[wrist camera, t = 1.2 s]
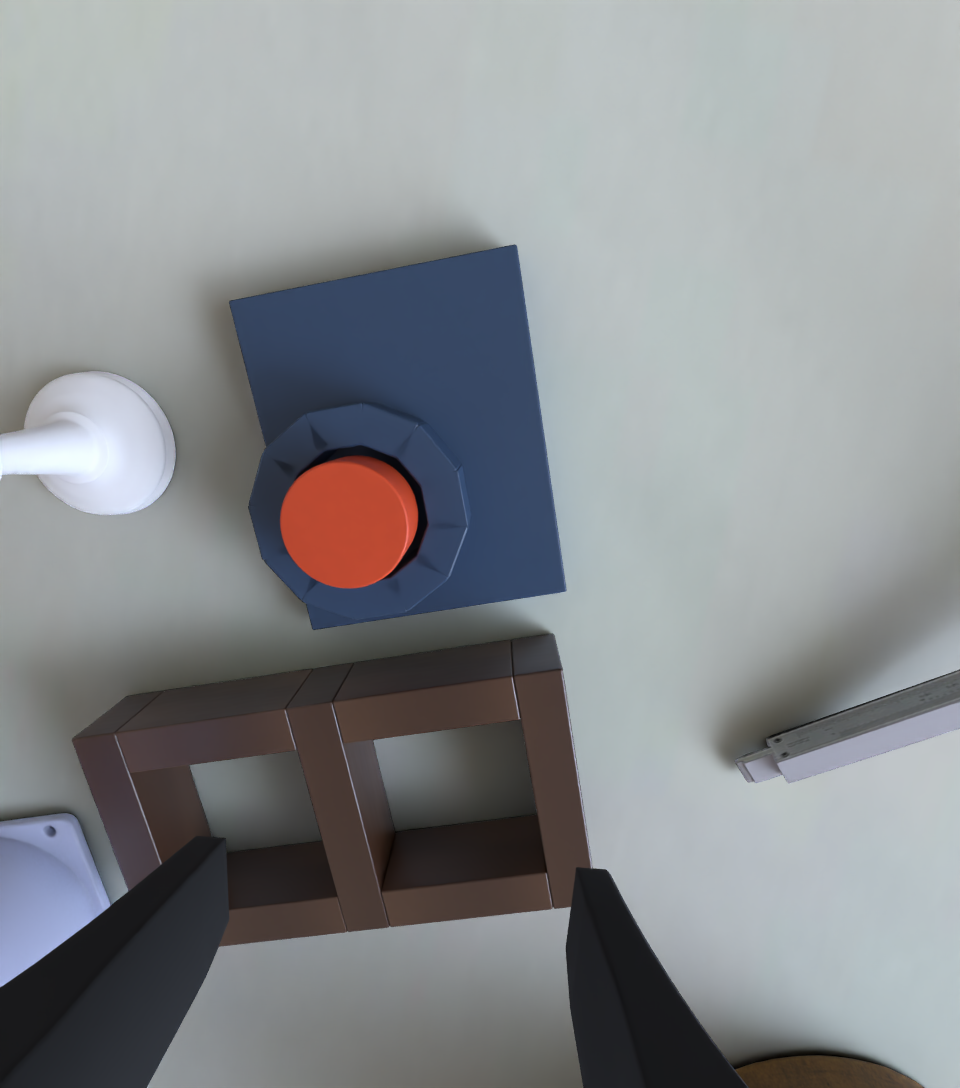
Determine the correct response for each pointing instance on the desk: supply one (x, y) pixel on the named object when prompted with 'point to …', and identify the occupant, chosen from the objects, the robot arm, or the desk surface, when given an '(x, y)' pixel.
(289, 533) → the station button
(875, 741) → the caliper
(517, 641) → the holder
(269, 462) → the station
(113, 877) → the desk surface
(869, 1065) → the wooden container
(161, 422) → the chess piece
